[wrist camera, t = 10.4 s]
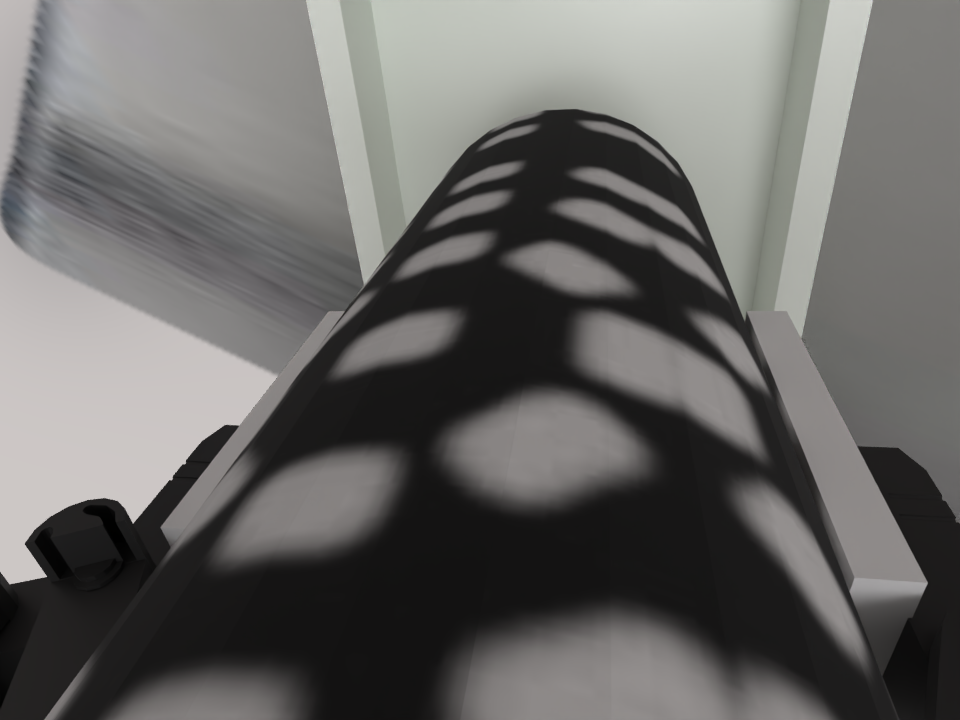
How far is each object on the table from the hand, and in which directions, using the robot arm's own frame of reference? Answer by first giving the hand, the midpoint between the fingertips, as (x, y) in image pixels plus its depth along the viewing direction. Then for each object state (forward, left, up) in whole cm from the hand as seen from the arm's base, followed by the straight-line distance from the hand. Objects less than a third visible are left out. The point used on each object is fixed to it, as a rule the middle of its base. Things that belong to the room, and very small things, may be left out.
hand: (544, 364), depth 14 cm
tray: (0, 0, -16) cm, 16 cm away
